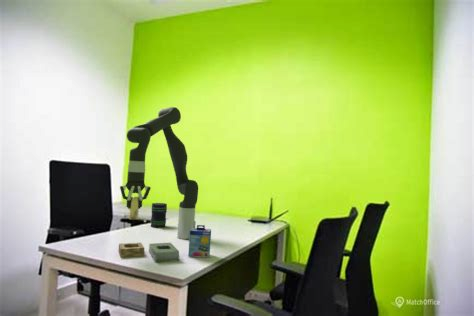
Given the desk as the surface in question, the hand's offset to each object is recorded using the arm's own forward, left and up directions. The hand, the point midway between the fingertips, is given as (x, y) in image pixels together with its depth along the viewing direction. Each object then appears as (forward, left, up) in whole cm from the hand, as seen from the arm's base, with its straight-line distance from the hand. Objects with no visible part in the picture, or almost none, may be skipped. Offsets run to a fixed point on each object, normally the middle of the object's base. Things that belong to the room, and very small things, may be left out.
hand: (134, 208), depth 144 cm
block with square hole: (-13, +8, -21) cm, 26 cm away
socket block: (0, 0, -21) cm, 21 cm away
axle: (0, 0, -5) cm, 5 cm away
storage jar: (-24, -60, -21) cm, 68 cm away
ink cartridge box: (-29, +11, -21) cm, 37 cm away
